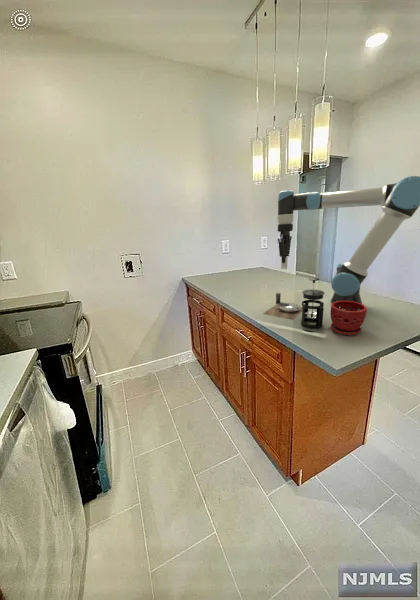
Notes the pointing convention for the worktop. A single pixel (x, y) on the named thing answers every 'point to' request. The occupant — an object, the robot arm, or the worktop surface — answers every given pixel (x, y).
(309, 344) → the worktop surface
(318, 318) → the french press
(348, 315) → the plant pot
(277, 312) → the board
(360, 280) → the robot arm
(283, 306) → the silver dish with post
